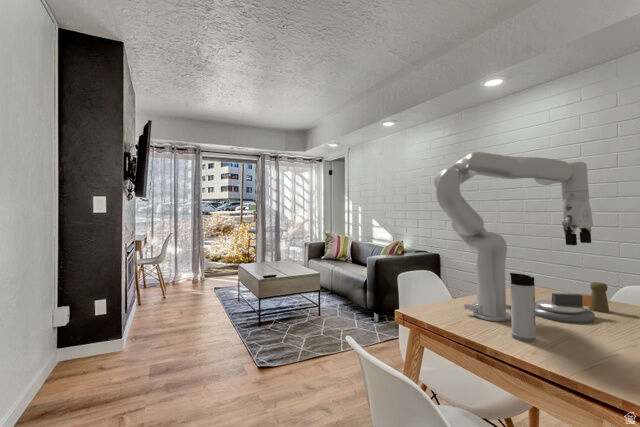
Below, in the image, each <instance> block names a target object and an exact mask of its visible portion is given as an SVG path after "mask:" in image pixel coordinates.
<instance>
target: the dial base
mask: <svg viewBox="0 0 640 427" xmlns="http://www.w3.org/2000/svg"><path fill="white" fill-rule="evenodd" d="M595 316H596V314H595V313H594V311H592V310H590V309H589V308H588V307H587V308H585V307H584V313H582V314H563V313H556V312H551V311H547V310H543V309H541V308H539V307H538V306H537V301H535V317H539V318H541V319H544V320H549V321H553V322H554V321H555V322H559V323H566V324H591V323H593V322H595V321H596V319H595V318H596V317H595Z"/></svg>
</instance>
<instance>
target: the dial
mask: <svg viewBox="0 0 640 427" xmlns="http://www.w3.org/2000/svg"><path fill="white" fill-rule="evenodd" d="M536 302H537V306H538V307H539V308H541V309H543V310H547V311H551V312H556V313H563V314H582V313H584V308H585V307H590V306H591V307H592V299H591V295H590V294H587V293H563V292H562V293H561V292H560V293H557V292H552V293H551V299H540V300H537V301H536Z"/></svg>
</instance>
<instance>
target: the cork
mask: <svg viewBox="0 0 640 427" xmlns="http://www.w3.org/2000/svg"><path fill="white" fill-rule="evenodd" d="M589 287H590V290H591V299H592V307H591V306H588V307H589V309H590V311H592V312H596V313H604V314H606V313H607V314H609V313H610V307H609V306H610V305H609V302H608V295H607V291H608V290H609V289H608V285H607V283H605V282H604V283H603V282H600V281H599V282H598V281H594V282H590V284H589Z"/></svg>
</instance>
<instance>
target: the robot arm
mask: <svg viewBox="0 0 640 427" xmlns="http://www.w3.org/2000/svg"><path fill="white" fill-rule="evenodd" d="M476 175H477V176H484V177H490V178H491V177H492V178H497V179H503V180H518V179H519V180H520V179H534V181H535V182H536V183H537V184H539V185H542V186H549V185H555V184H561V195H562V196H561V199H562V202H563V205H562V206H563V207H562V208H563V209H562V210H563V213H562V214H563V215H562V216H563V218H562V222H561V223H562V227H563V228H562V229H563V230H564V237H565V245H566V246H577V245H578V240H577V239H578V238H577V233H576V231H577V229H579V241H580V243H581V244H592V234H591V233H592V227H593V225H594V224H593V214H592V208H591V205H590V194H589V193H590V191H589V189H590V188H589V179H588V176H589V175H588V166H587V163H586V162H584V161H574V162H573V161H572V162H567V161H564V160H561V159H554V158H547V157H531V156H530V157H529V156H511V155H504V154H503V155H501V154H496V153H491V152H490V153H488V152H485V151H484V152H482V151H474V152H470V153H468V154H467V155H465V156H464V157H462V158H461V159H460V160H458V161H456V162H455V163H454V164H452V165H450V166H448V167H447V168H444V169H442V170H441V171H440V172H439V173H437V174H436V176H435V177H434V180H433V185H434V187H435V188H436V189H435V190H436V191H435V192H436V193H435V194H436V201H437V202H438V205H439V206H440V208H441V209H442V210H443V211H444V213H445V214H446V215H447V216H448V218H449V219H450V220H451V227H452V228H453V230H454V232H455V234H456V235H458V236H459V237H460V239H461V240H462V241H463V242H464V243H465V244H466V245H467V246H468V247H469V248H470V249H471V250H472V251H473V252H474V253H476V254H477V260H476V301H474V303H472V304H468V303H464V304H463V309H464V310H468V311H472V315H473V316H474V317H475V318H478V319H481V320H485V321H492V322H508V321H510V320H511V314H510V313H509V312H507V301H506V300H507V295H506V294H507V293H506V291H507V290H506V288H507V287H506V286H507V285H506V262H507V261H506V260H507V253H508V244H507V241H506V240H505V238H504V237H503V236H502V235H501V234H499V233H497V232H492V231H488V230H487V229H486V228H485V222H484V219H483V218H482V216H481V215H480V214H479V213H478V212H477V211H476V210H475V209H474V208H473V207H472V205H470V204H469V203H468V202H467V201H466V199H465V198H464V196H463V195H462V193H461V184H463V183H465V182H467V181H468V180H470V179H472V178H473V177H474V176H476Z"/></svg>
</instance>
